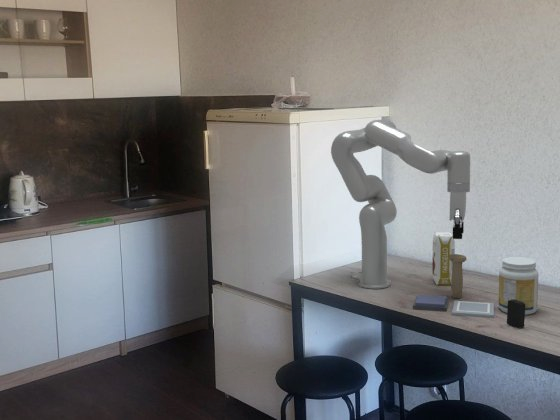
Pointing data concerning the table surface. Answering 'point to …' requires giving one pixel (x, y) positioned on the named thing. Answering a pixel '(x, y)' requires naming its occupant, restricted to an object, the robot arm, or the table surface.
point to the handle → (457, 274)
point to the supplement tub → (518, 283)
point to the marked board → (473, 309)
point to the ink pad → (431, 302)
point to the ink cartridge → (516, 313)
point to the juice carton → (442, 257)
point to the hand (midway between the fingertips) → (458, 235)
